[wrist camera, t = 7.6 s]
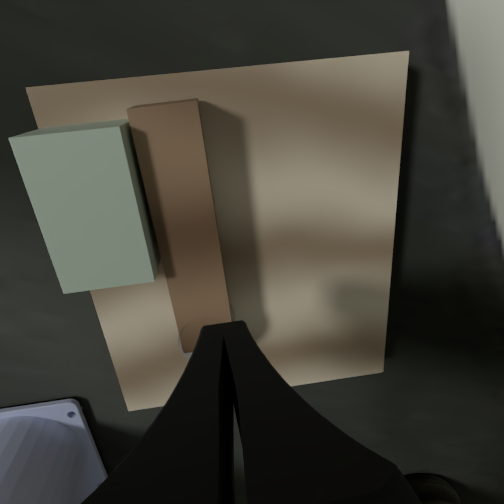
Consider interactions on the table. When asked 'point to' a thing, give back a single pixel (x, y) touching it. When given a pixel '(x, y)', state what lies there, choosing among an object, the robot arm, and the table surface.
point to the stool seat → (271, 212)
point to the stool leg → (182, 213)
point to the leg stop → (90, 203)
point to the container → (432, 489)
